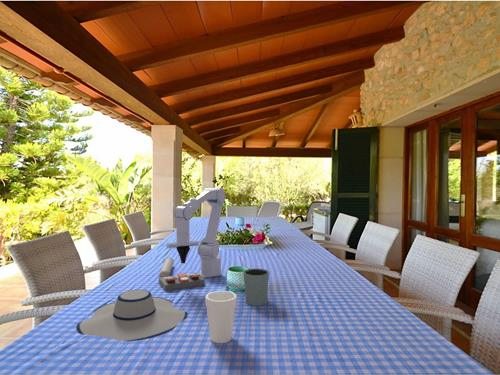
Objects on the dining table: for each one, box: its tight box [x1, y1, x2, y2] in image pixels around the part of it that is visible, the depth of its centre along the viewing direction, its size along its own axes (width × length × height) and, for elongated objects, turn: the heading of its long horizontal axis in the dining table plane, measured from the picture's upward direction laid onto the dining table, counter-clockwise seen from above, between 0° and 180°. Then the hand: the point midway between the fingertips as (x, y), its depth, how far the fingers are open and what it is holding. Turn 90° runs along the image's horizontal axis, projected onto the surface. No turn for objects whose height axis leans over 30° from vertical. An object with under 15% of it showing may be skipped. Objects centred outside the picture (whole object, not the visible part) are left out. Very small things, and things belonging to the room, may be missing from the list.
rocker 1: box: [176, 272, 189, 282], centre depth 154 cm, size 4×6×1 cm, turn 27°
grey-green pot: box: [243, 268, 270, 307], centre depth 135 cm, size 10×10×12 cm
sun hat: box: [76, 289, 188, 342], centre depth 119 cm, size 36×36×9 cm
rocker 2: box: [189, 273, 202, 277], centre depth 157 cm, size 4×6×1 cm, turn 27°
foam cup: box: [205, 290, 237, 344], centre depth 104 cm, size 10×9×13 cm
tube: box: [158, 257, 175, 279], centre depth 175 cm, size 5×5×25 cm
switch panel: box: [158, 272, 206, 292], centre depth 157 cm, size 18×12×3 cm, turn 117°
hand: (183, 262), depth 154 cm, fingers closed
